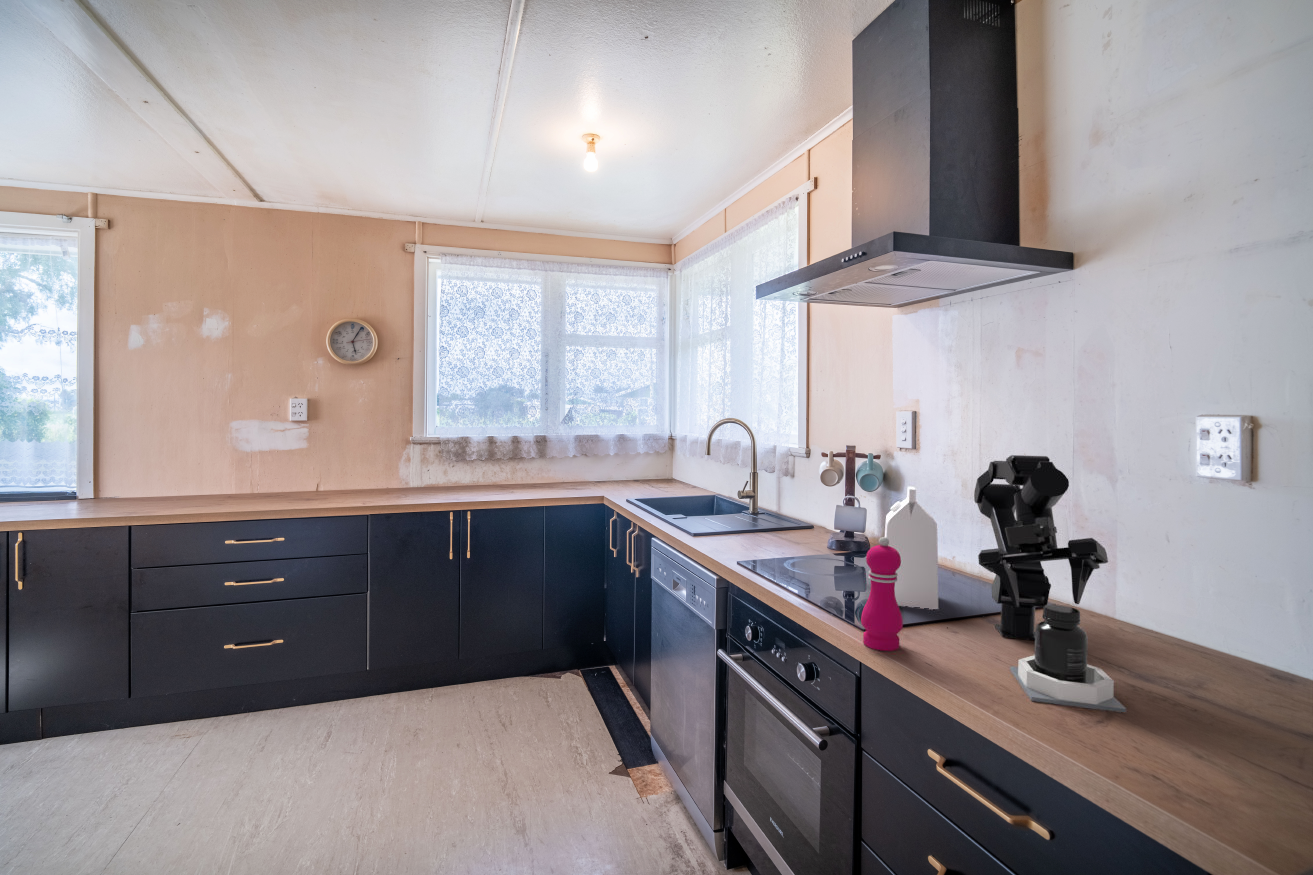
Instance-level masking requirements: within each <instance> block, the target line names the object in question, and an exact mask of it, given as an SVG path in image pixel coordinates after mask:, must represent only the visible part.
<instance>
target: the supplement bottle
mask: <svg viewBox="0 0 1313 875" xmlns="http://www.w3.org/2000/svg"><path fill="white" fill-rule="evenodd" d="M1042 619H1043V621H1041V622H1039V623H1038V624H1037V625H1036V626H1035V628H1034V631H1035V640H1034V655H1035V671H1036V672H1038V673H1041V674H1044V675H1047V676H1049V677H1052V678H1055V679H1058V680H1060V681H1069V682H1077V683H1085V684H1087V665H1088V640H1089V639H1088V634H1087V633H1086V631H1085V629H1083V628H1082V627H1080V626H1079V625H1081V612H1080V610H1079V609H1077V608H1075V607H1072V606H1067V605H1062V604H1061V605H1060V604H1047V605H1045V606H1043V607H1042Z"/></svg>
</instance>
